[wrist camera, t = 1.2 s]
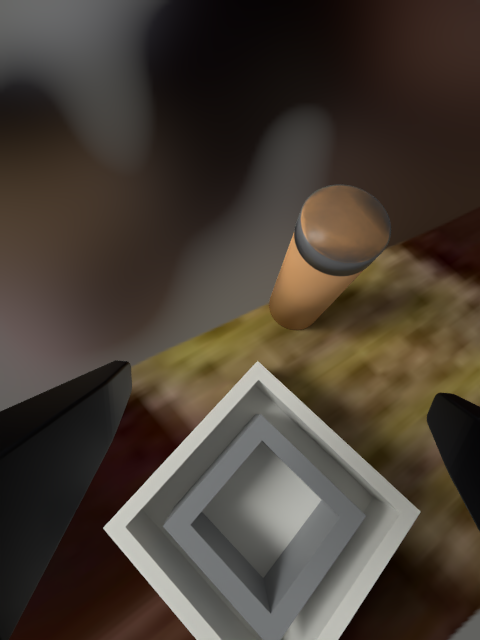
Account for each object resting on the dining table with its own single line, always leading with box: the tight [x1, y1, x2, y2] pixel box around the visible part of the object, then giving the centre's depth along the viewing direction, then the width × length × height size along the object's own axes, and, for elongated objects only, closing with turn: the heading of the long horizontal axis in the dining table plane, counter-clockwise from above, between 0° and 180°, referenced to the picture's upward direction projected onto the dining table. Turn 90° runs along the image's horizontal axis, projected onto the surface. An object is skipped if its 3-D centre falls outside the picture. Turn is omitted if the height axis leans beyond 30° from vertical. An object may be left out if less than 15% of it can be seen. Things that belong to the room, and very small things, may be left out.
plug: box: [269, 185, 391, 330], centre depth 19 cm, size 4×4×11 cm
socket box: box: [103, 361, 420, 640], centre depth 18 cm, size 12×12×4 cm
